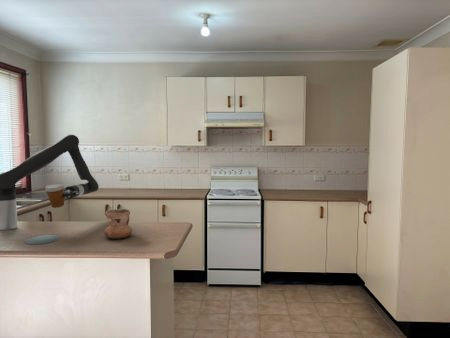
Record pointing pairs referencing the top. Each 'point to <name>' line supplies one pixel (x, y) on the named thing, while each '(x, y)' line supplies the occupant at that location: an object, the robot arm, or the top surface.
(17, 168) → the robot arm
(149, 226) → the top surface
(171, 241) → the top surface
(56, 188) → the disposable coffee cup
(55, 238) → the mat
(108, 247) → the top surface
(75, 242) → the top surface
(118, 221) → the ceramic jug
